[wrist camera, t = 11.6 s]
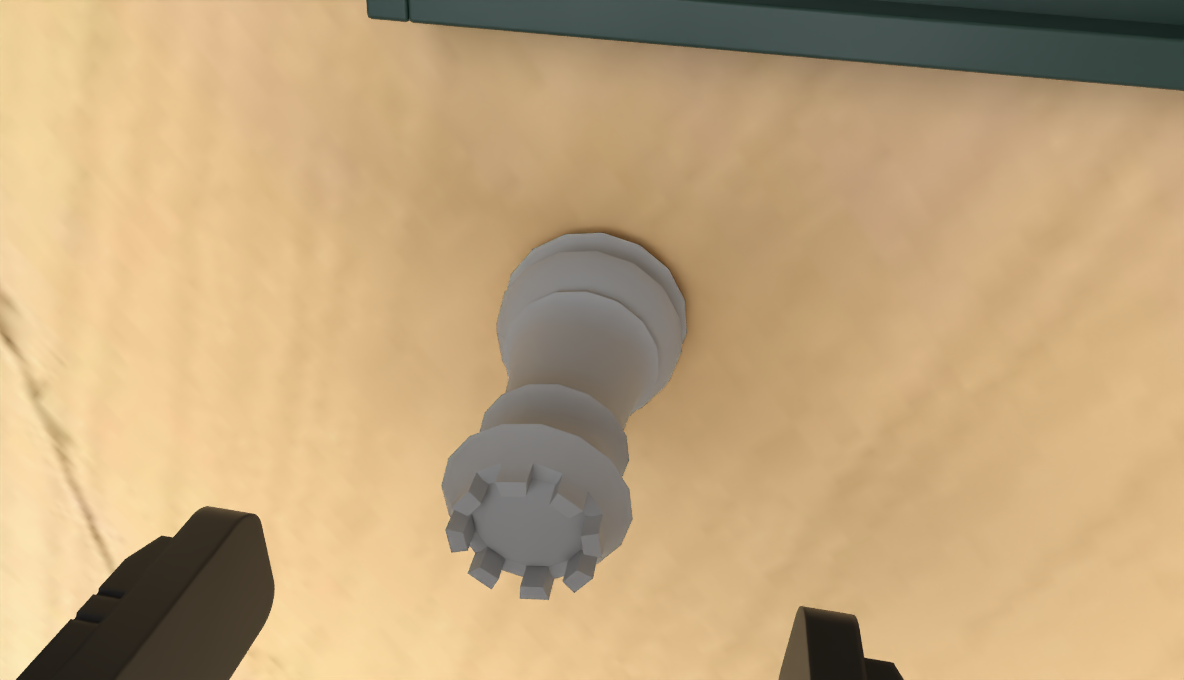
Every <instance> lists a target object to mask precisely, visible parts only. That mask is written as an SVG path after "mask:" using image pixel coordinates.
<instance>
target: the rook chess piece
mask: <svg viewBox="0 0 1184 680" xmlns="http://www.w3.org/2000/svg"><path fill="white" fill-rule="evenodd" d="M686 334H687V328H686V310H685V299H684V297H683V296H682V294H681V292H680V290H679V288H678V286H677V284H676V282H675V280H674V278H673V277H672V275H671V273H670V271H669V269H668V268H667V267H666V266H664V265H663V264H662V263H661V262H659V261H658V260H657V259H656V258H655V257H653V256H652V255H651V254H650V253H649V252H647V251H646V250H645V249H644V248H643V247H641V246H640V245H638V244H635V243H632V242H629V241H626V240H623V239H620V238H617V237H614V236H611V235H608V234H605V233H583V234H564V235H562V236H560V237H558V238H556V239H554V240H552V241H549V242H547V243H545V244H543V245H541V246H539V247H537V248H534V249H532V251H531V252H530V253H529V254H528V255H527V257H526V258H525V259H524V260H523V261H522V262H521V264H520V265H519V266H518V267H517V268H516V269H515V271H514V272H513V273H512V274H511V277H510V281H509V285H508V288H507V290H506V291H505V293H504V297H503V301H502V304H501V308H500V312H499V316H498V320H497V335H498V340H499V345H500V351H501V356H502V361H503V363H504V365H505V366H506V368H507V374H508V377H509V379H508V384H507V389H506V393H505V394H502V395H501V396H500V397H499V398H498V399H497V400H496V401H495V402H494V404H493V405H492V406H491V407H490V408H489V409H488V410H487V411H486V412H485V414H484V418H483V421H482V425H481V429H480V432H479V433H477V434H474V435H472V436H469V437H468V438H467V439H466V440H465V442H464V443H463V444H462V445H461V446H460V447H459V448H458V449H457V450H456V451H455V452H454V453H453V454H452V455H451V456H450V457H449V458H448V462H447V466H446V470H445V474H444V478H443V482H442V490H443V494H444V497H445V501H446V505H447V509H448V513H449V516H450V517H451V518H450V521H449V523H448V525H447V527H446V534H447V538H448V541H449V545H450V549H451V553H452V552H460V551H468V548H469V545H470V547H471V548H472V549H473V551H474V552H475V556H474V558H473V561H472V563H471V566H470V569H469V571H468V574H469V575H471V576H472V577H474V578H475V579H477V580H478V581H480V582H481V583H483V584H484V585H486V586H487V587H489V588H490V589H492V588H493V587H494V585H495V584H496V582H497V581H498V579H499V576H500V573H501V570H504V571H507V572H510V573H513V574H516V575H519V576H522V577H523V580H522V583H521V586H520V599H541V600H549V596H550V592H551V589H552V585H553V581H554V579H555V578H559V577H562V576H564V579H563V582H564V583H565V584H566V585H567V586H568V587H569V588H570V589H571V590H572V591H573V592H574V593H575V592H576V591H577V590H579V589H580V588H581V587H582V586H584V585H585V584H586V583H587V582H589V581H590V580H591V579H593V576H594V571H595V566H596V564H598V563H599V562H600V561H601V560H603V559H604V558H605V557H607V556H608V555H609V554H610V553H612V552H613V551H614V550H615V549H617V548H618V547H619V546H620V545H621V544H622V542H623V540H624V537H625V535H626V533H627V530H628V528H629V526H630V524H631V521H632V509H631V500H630V491H629V488H628V486H627V485H626V483H625V481H624V480H623V478H622V476H623V474H624V471H625V469H626V467H627V464H628V462H629V455H628V445H627V436H626V434H625V432H624V427H625V425H626V423H627V421H628V418H629V416H630V415H631V414H632V413H634V412H635V411H636V410H637V409H640V408H642V407H643V406H644V405H645V404H647V403H648V402H649V401H650V400H651V399H652V398H653V397H654V396H655V395H656V394H658V393H659V392H660V391H661V390H662V389H663V388H664V387H665V386H666V385H667V383H668V382H669V381H670V378H671V376H672V374H673V371H674V369H675V366H676V364H677V362H678V359H679V357H680V354H681V352H682V343H683V341H684V338H685V336H686Z"/></svg>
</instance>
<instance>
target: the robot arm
mask: <svg viewBox="0 0 1184 680" xmlns="http://www.w3.org/2000/svg"><path fill="white" fill-rule="evenodd" d="M273 599H274V579H273V575H272V570H271V566H270V561H269V556H268V552H267V547H266V543H265V538H264V533H263V529H262V524H261V521H260V519H259V517H258V516H257V515H255V514H252V513H246V512H240V511H234V510H228V509H222V508H216V507H209V506H206V507H203V508H201V509H199V510H198V511H196V512H195V513H194V514H193V515H192V516H191V518H190V519H189V520H188V521H187V522H186V523H185V525H184V526H183V527H182V528H181V529H180V530H179V531H178V533H177V534H176V535H175V536H174V537H173V538H172V537H166V536H160V537H159V538H157V539H156V540H154V541H153V542H151V543H149V544H148V545H146V546H145V547H143V548H142V549H140V550H139V551H137V552H136V553H134V554H132V555H131V556H129V557H128V558H126V559H125V560H124V561H123V562H122V563H121V564H120V566H119V567H118V568H117V569H116V570H115V571H114V572H113V573H112V574H111V575H110V577H109V578H108V579H107V580H106V581H105V582H104V583H103V584H102V585H101V586H100V588H99V591H98V593H97V595H94V594H93V595H92V596H91V597H90V599H89V600H88V601H87V602H86V603H85V604H84V605H83V606H82V607H81V608H80V610H79V611H78V612H77V615H76V618H75V619H74V620H72V619H70V621H69V622H68V623H67V624H66V625H65V626H64V627H63V628H62V629H61V630H60V632H59V633H58V634H57V635H56V636H55V637H54V638H53V639H52V640H51V641H50V643H49V644H48V645H47V646H46V647H45V648H44V649H43V650H42V651H41V652H40V654H39V655H38V656H37V657H36V658H35V659H34V660H33V661H32V662H31V663H30V665H29V666H28V667H27V668H26V669H25V670H24V671H23V672H22V673H21V674H20V676H19V677H18V678H17V679H16V680H229V679H230V678H231V676H232V675H233V673H234V671H235V670H236V668H237V667H238V665H239V664H240V662H241V661H242V659H243V657H244V656H245V654H246V653H247V651H248V650H249V648H250V647H251V645H252V643H253V642H254V640H255V639H256V637H257V636H258V634H259V632H260V631H261V629H262V628H263V626H264V624H265V623H266V620H267V618H268V616H269V613H270V611H271V607H272V603H273ZM779 680H904V679H903V678H902V676H901V674H900V673H899V671H898V670H897V668H896V667H895V665H894V663H891V662H886V661H880V660H874V659H868V658H864V654H863V648H862V642H861V635H860V629H859V624H858V621H857V618H856V617H855V615H852V614H846V613H840V612H834V611H828V610H822V609H815V608H809V607H803V606H800V607H799V608H798V611H797V613H796V617H795V620H794V624H793V628H792V631H791V635H790V638H789V642H788V646H787V649H786V653H785V656H784V660H783V664H782V667H781V671H780V675H779Z"/></svg>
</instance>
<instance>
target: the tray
mask: <svg viewBox="0 0 1184 680" xmlns="http://www.w3.org/2000/svg"><path fill="white" fill-rule="evenodd" d="M366 1H367V14H368V17H369V18H371V19H379V20H390V21H401V22H407V21H409V20H410V21H411V22H413V23H423V24H435V25H446V26H457V27H469V28H480V29H491V30H503V31H514V32H525V33H536V34H548V35H559V36H570V37H582V38H593V39H604V40H616V41H627V42H638V43H649V44H661V45H672V46H683V47H695V48H706V49H717V50H728V51H740V52H751V53H762V54H774V55H785V56H796V57H808V58H819V59H830V60H841V61H853V62H864V63H875V64H887V65H898V66H909V67H921V68H932V69H943V70H954V71H966V72H977V73H988V74H1000V75H1011V76H1022V77H1034V78H1045V79H1056V80H1067V81H1079V82H1090V83H1101V84H1113V85H1124V86H1135V87H1147V88H1158V89H1169V90H1180V91H1184V0H366Z"/></svg>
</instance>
